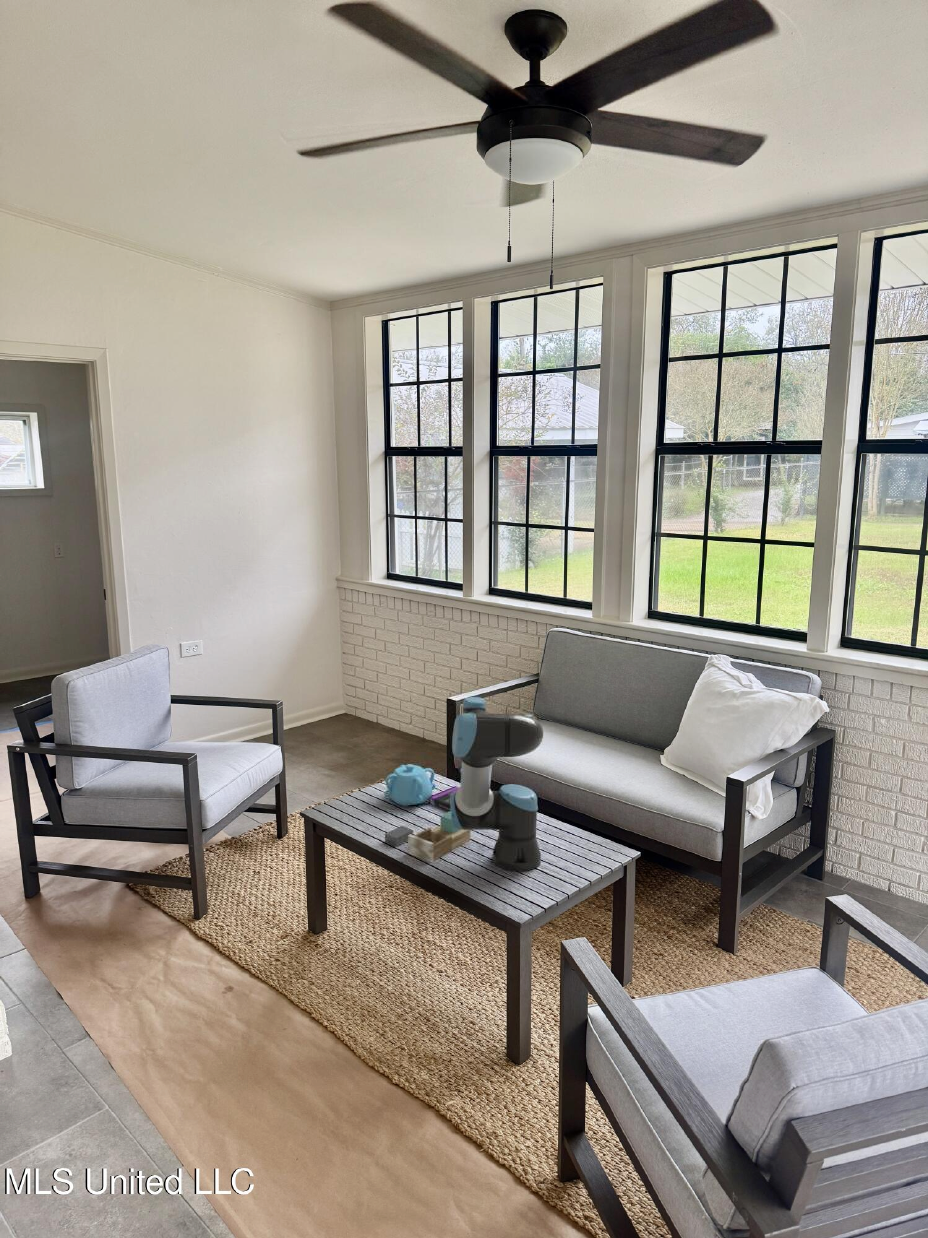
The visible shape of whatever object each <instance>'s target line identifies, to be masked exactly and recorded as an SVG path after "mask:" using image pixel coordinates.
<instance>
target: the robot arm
mask: <svg viewBox="0 0 928 1238" xmlns="http://www.w3.org/2000/svg"><path fill="white" fill-rule="evenodd" d="M462 703H463V704H462V713H460V714H458V715H457V716H456V718H455V719H454V724H453V731H452V738H451V739H452V740H451V741H452V743H451V749H452V755H453V756H454V757H457V758H459V760H460V761H461V767H458V772H459V774H460V786H458V787H459V789H458V790H456V791H453V792H452V793H451V800H450V804H451V819H452V824H453V827H454V828H456V829H463V830H471V831H472V830H473V831H474V830H475V831H478V830H479V831H481V830H482V831H486V830H487V831H489V830H490V831H491V830H492V831H498V837H497V839H496V840H495V841H496V842H495V844H494V847H493V849H492V862H493V864H495V865H496V866H497V867H499V868H501V869H504V870H507V871H513V872H525V871H531V870H534V869H536V868H538V866H540V865H541V862H542V853H541V850H540V847H539V843H538V840H537V817H538V816H537V815H538V810H539V807H538V796H537V794H536V793H535V792H534V790H532V789H531V788H529V787H526V786H523V785H521V784H513V783H511V784H510V783H509V784H504V785H501V786H500V788H499V790H498V791H497V790H491V779H492V771H493V765H494V764H495V762H496V761H497V759H498V758H516V757H521V756H525V755H528V754H530V753H532V752H534V751H535V750H536V749H537V748H538V747H540V745H541V744H542V742H543V739H544V729H543V726H542V724H541V723H540V722H539V721H538V720H537V719H536V718H535V717H534V716H533V715H532V714H525V713H487V707H486V706H487V705H486V700H485V699H484V698H483V697H478V696H470V697H467V698H464V700H463V701H462Z"/></svg>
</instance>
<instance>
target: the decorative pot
mask: <svg viewBox="0 0 928 1238" xmlns="http://www.w3.org/2000/svg"><path fill="white" fill-rule="evenodd" d="M427 772H430V777H429V775H428V773H427ZM434 778H435V771H434V769H432V768H430V767H428V768H427V767H426V768H423V767H421V766H420V765H415V764H411V763H410V764H409V763H408V764H406V765H405V764H400V765H399V766H398V767H397V768H395V769H394V771H393V773H390V774H388V775H387V776H386V778H385V782H384V783H385V786H386V788H387V790H385V791H384V793H383V794H384V795H383V796H384V797H385V798H388V799H389V798H390V799H392V801H393V802H395V803H396V804H398V805H401V806H402V807H409V806H411V805H419V804H425V803H426V802H428V800H429V798H430V797H431V796H432V795H433V791H434V790H435V788H436V784H435V782H434V780H435V779H434Z"/></svg>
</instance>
